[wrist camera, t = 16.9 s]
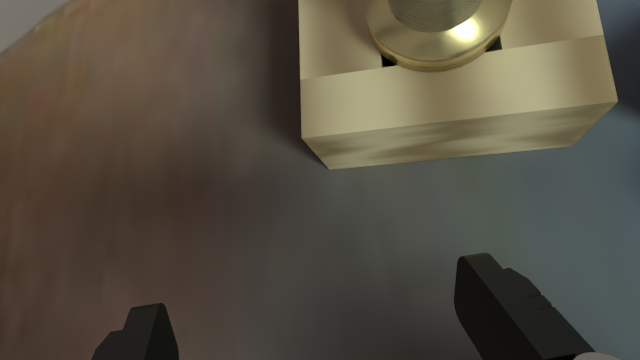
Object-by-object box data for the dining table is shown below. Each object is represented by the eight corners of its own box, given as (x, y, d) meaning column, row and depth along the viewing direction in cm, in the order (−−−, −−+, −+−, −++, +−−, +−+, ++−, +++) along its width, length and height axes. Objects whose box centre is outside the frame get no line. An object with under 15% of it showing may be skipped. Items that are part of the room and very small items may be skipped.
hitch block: (329, 169, 27) (301, 138, 21) (323, 6, 30) (297, -62, 24) (570, 146, 24) (618, 101, 18) (537, -34, 27) (568, -124, 21)
